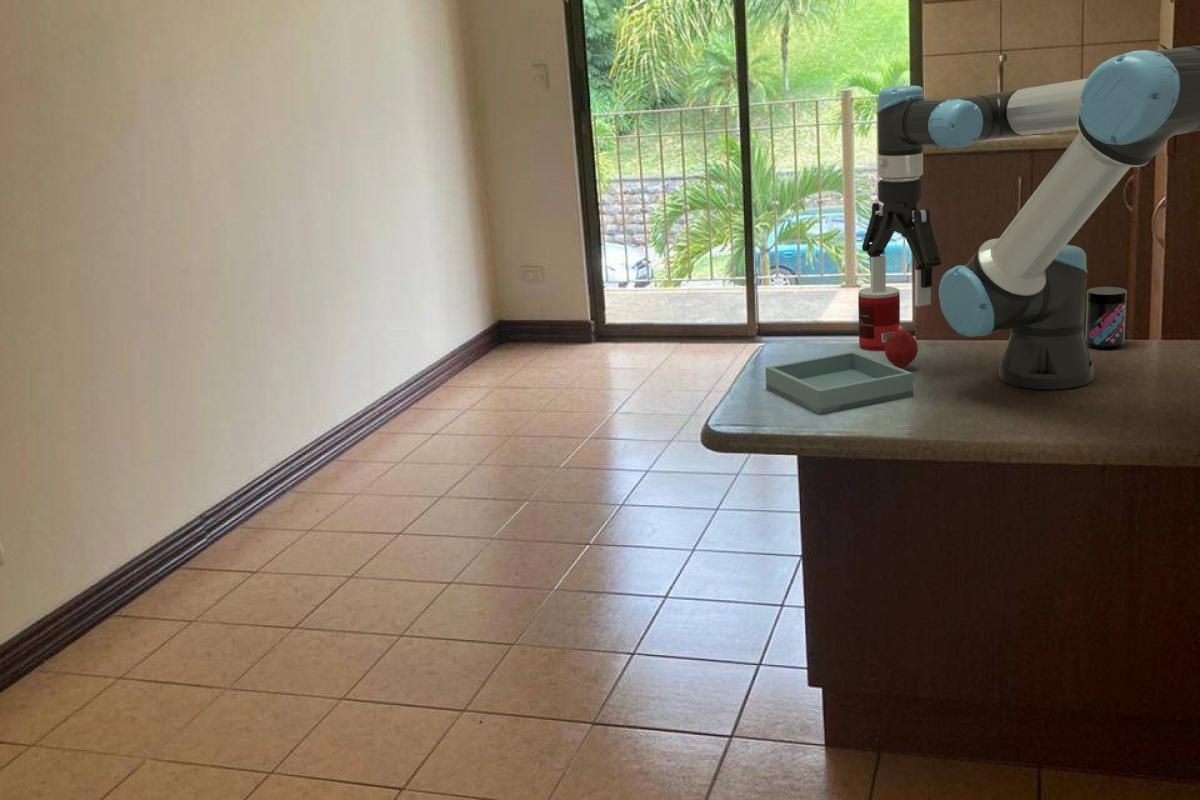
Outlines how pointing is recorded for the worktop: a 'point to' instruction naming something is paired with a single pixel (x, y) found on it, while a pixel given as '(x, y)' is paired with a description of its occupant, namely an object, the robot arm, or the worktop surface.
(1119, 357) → the worktop surface
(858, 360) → the bin
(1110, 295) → the supplement container
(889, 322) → the canned food
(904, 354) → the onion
